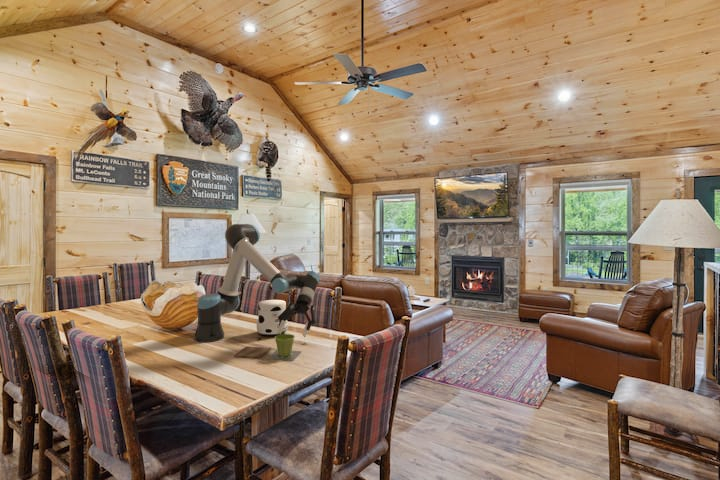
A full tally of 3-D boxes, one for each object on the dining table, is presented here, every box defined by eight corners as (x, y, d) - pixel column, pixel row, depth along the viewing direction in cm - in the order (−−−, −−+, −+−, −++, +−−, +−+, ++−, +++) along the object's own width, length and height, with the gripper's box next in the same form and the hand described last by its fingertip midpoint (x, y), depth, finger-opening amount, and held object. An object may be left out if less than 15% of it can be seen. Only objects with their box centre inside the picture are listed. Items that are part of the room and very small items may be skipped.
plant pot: (290, 358, 176) (290, 340, 175) (271, 357, 178) (271, 339, 177) (297, 352, 185) (297, 334, 185) (279, 351, 187) (279, 333, 186)
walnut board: (233, 357, 178) (233, 355, 178) (246, 348, 191) (246, 346, 191) (260, 358, 176) (260, 356, 176) (271, 349, 189) (271, 347, 189)
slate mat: (266, 359, 176) (266, 358, 176) (276, 350, 189) (276, 349, 189) (293, 360, 174) (293, 360, 174) (302, 351, 187) (302, 351, 187)
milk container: (288, 336, 212) (288, 304, 211) (256, 338, 208) (256, 306, 207) (286, 328, 229) (286, 298, 228) (256, 330, 224) (256, 299, 224)
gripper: (329, 303, 197) (317, 340, 183) (286, 300, 205) (271, 335, 191) (325, 295, 191) (312, 332, 178) (281, 292, 199) (265, 328, 186)
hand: (291, 334), depth 184 cm, fingers open, 13 cm apart
